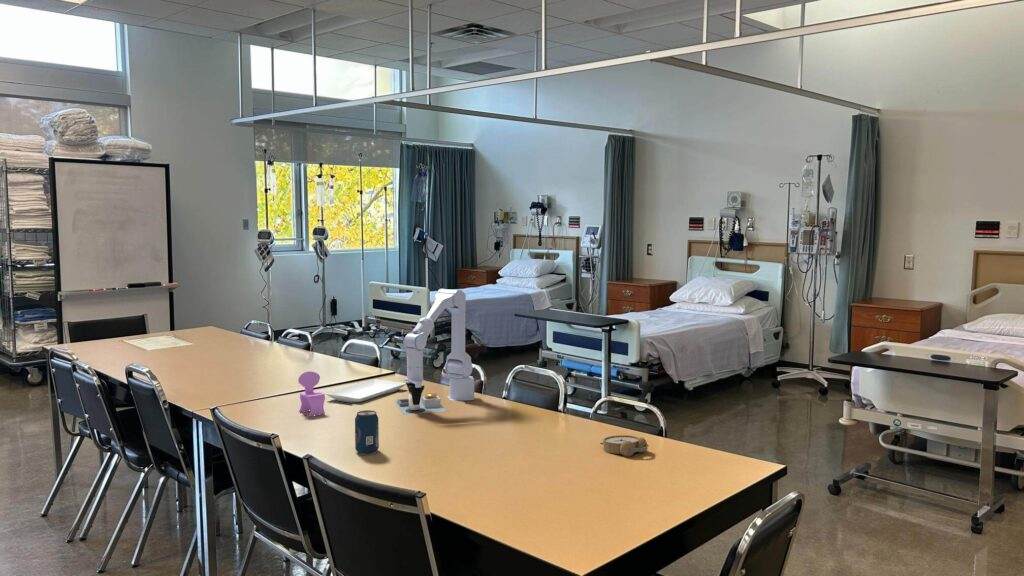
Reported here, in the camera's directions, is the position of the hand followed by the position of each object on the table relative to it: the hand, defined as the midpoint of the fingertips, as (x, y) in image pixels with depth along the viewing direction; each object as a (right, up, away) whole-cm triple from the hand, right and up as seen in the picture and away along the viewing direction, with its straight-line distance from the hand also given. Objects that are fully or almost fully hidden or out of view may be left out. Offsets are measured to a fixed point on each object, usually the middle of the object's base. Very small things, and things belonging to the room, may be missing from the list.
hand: (415, 403), depth 271 cm
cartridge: (0, -2, 0) cm, 2 cm away
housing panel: (+1, -3, +8) cm, 8 cm away
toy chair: (-37, -4, -2) cm, 37 cm away
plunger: (+5, -2, +8) cm, 9 cm away
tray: (-23, -2, +27) cm, 36 cm away
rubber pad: (0, -3, 0) cm, 3 cm away
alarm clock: (+70, -8, -45) cm, 84 cm away
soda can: (-8, -8, -47) cm, 48 cm away
